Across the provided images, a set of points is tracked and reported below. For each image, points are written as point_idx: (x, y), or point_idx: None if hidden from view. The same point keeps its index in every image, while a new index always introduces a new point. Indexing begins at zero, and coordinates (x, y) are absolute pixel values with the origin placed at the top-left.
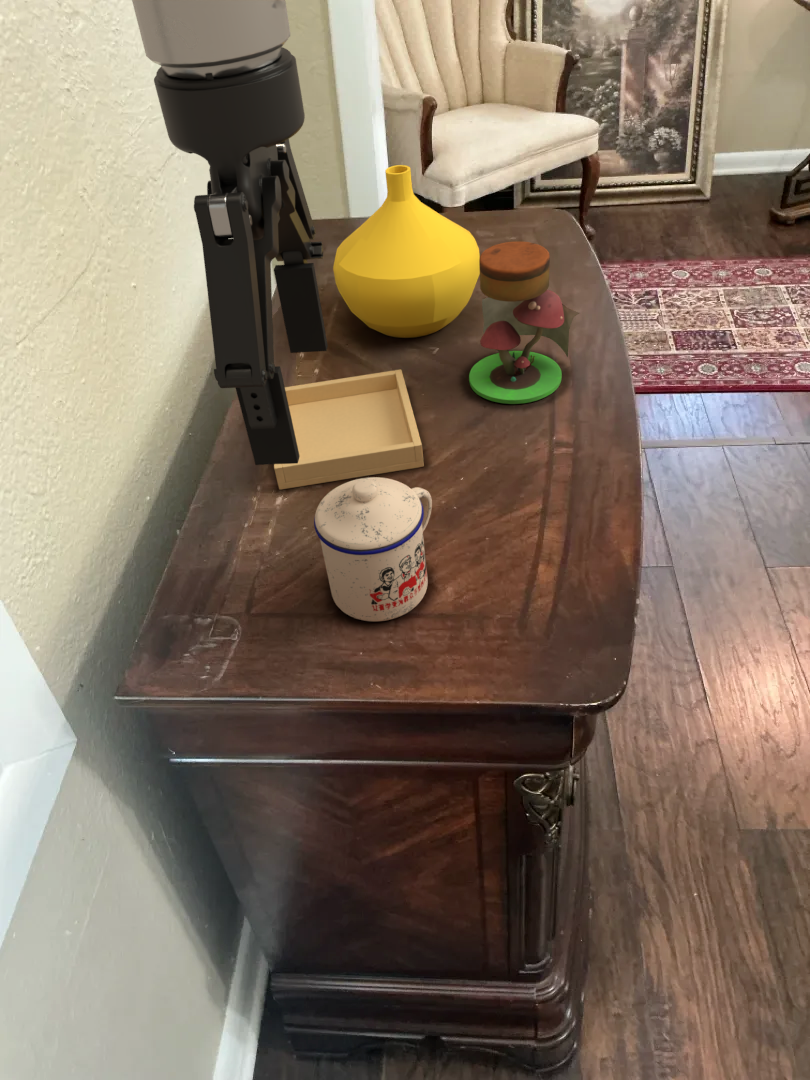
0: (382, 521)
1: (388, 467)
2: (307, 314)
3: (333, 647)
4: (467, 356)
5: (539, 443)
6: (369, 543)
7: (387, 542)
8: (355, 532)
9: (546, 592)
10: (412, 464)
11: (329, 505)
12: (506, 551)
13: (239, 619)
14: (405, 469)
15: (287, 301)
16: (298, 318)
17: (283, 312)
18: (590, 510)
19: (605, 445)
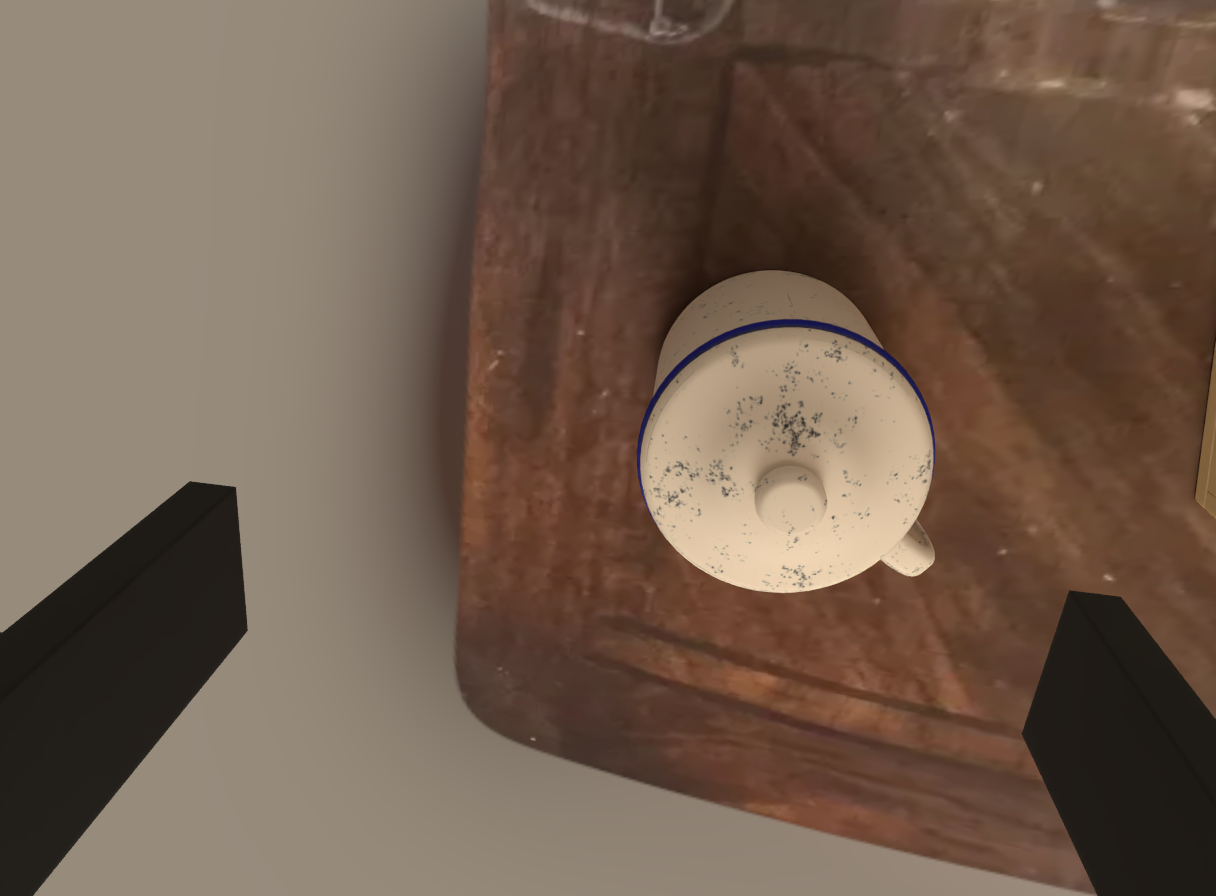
0: (704, 515)
1: (1214, 419)
2: (1115, 836)
3: (602, 274)
4: None
5: None
6: (646, 472)
7: (651, 510)
8: (681, 445)
9: (698, 675)
10: (1203, 479)
11: (808, 379)
12: (827, 629)
13: (718, 32)
14: (1201, 454)
15: (1189, 827)
16: (1126, 776)
17: (1167, 744)
18: (912, 787)
19: None
